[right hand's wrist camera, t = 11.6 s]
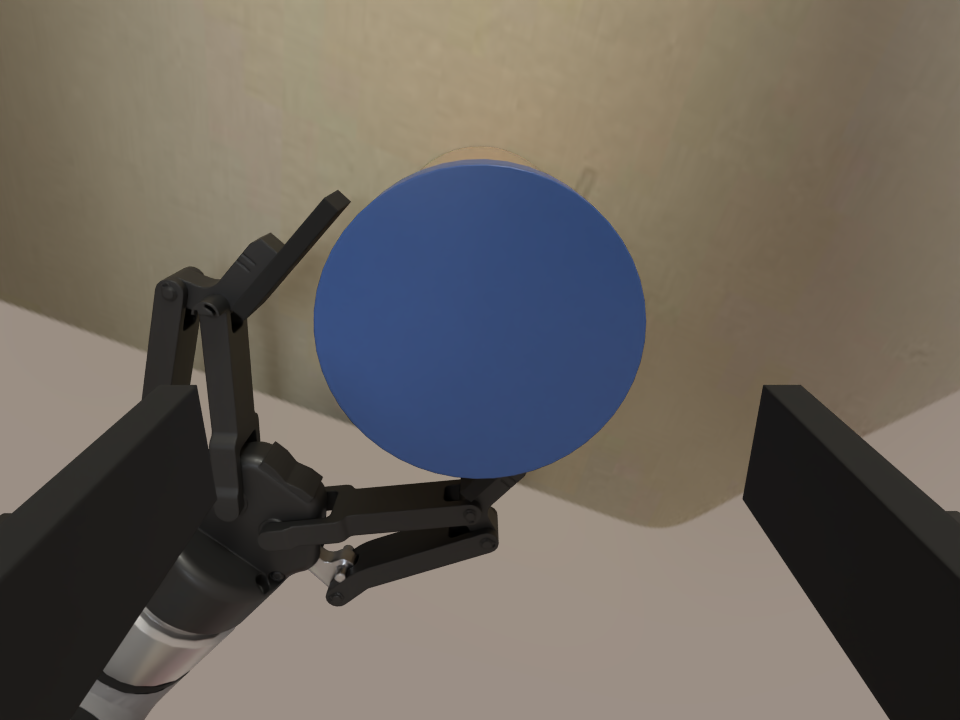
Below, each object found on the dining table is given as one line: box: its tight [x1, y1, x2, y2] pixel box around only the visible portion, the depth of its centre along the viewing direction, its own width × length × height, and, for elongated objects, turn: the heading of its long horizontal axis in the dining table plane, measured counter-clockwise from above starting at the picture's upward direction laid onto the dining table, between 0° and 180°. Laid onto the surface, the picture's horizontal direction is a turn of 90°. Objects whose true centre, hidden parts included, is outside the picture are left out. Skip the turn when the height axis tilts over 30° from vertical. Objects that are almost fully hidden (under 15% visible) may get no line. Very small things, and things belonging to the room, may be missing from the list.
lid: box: [314, 159, 646, 479], centre depth 20 cm, size 10×10×2 cm
